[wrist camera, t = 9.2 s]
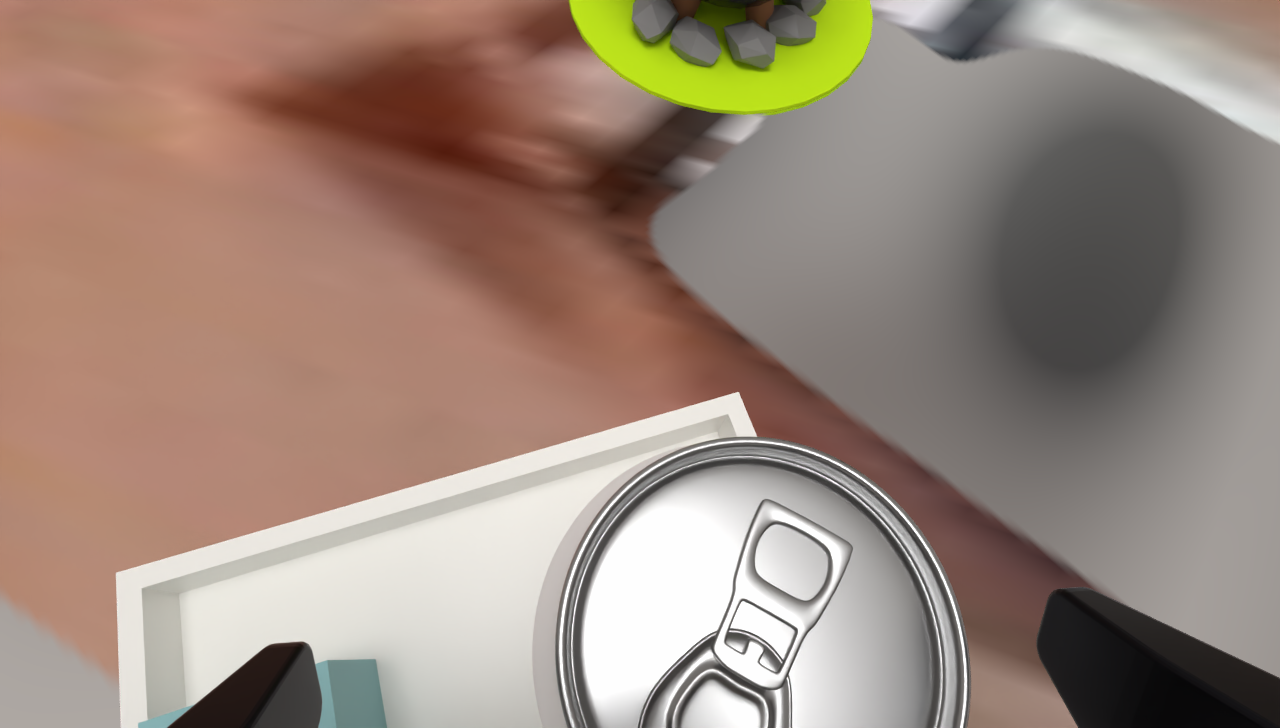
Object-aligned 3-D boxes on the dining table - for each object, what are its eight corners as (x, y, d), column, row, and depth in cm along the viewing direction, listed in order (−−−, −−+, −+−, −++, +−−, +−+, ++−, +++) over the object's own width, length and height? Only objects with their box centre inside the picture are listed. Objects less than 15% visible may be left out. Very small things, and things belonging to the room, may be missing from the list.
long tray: (877, 799, 19) (913, 816, 17) (195, 1102, 15) (135, 1173, 13) (724, 415, 23) (738, 391, 21) (165, 581, 20) (115, 573, 18)
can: (511, 696, 19) (416, 754, 8) (620, 499, 21) (663, 337, 10) (713, 821, 18) (917, 1076, 7) (802, 601, 21) (1054, 541, 10)
